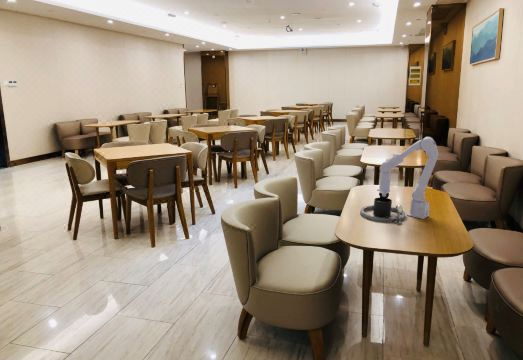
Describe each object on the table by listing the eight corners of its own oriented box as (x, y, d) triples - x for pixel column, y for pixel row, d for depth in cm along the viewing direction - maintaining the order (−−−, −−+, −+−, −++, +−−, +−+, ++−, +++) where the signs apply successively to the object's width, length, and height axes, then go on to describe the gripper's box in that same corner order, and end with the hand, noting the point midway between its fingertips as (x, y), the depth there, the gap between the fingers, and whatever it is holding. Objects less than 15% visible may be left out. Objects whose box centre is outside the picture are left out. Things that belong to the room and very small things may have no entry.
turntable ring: (412, 214, 230) (413, 211, 230) (392, 225, 213) (393, 221, 213) (373, 205, 247) (373, 202, 246) (352, 214, 230) (352, 211, 229)
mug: (392, 212, 234) (393, 197, 232) (389, 218, 224) (390, 203, 222) (375, 210, 238) (376, 195, 236) (371, 216, 228) (372, 200, 225)
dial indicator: (402, 224, 215) (404, 206, 213) (397, 225, 214) (399, 206, 212) (397, 221, 220) (398, 203, 217) (392, 222, 219) (393, 203, 216)
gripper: (377, 179, 241) (376, 201, 245) (377, 184, 228) (375, 208, 231) (390, 180, 239) (388, 202, 243) (390, 185, 226) (388, 209, 229)
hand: (383, 205), depth 237 cm, fingers closed
